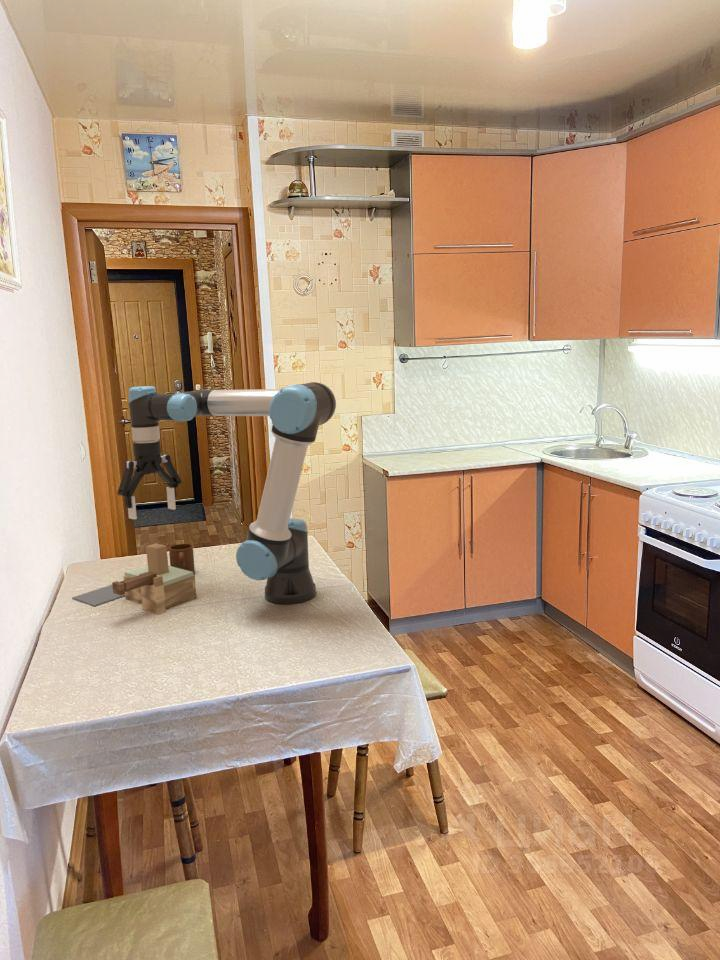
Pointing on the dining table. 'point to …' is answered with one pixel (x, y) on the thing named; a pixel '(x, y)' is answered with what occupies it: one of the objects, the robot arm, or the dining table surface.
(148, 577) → the bar
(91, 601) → the mat
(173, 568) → the lid
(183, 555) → the mug
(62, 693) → the dining table surface
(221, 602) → the dining table surface
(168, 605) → the toolbox
